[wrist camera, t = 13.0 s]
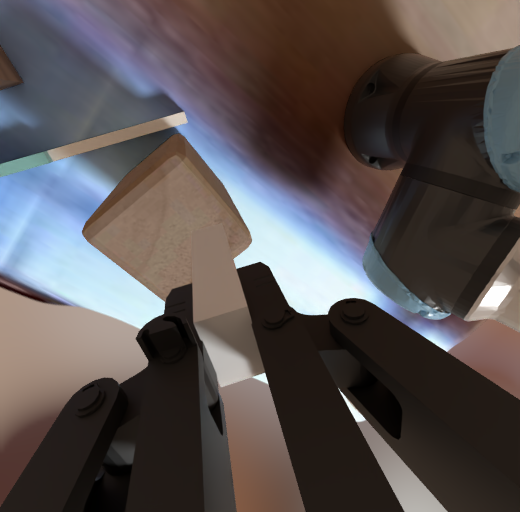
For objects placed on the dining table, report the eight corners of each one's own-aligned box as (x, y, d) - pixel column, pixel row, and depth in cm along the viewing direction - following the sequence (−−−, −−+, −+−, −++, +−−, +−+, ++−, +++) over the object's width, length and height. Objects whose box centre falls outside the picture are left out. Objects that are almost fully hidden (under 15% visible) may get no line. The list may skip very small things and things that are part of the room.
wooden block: (121, 178, 38) (71, 236, 20) (178, 129, 37) (176, 146, 19) (175, 230, 43) (171, 312, 25) (227, 188, 42) (259, 244, 24)
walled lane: (95, -147, 25) (82, -187, 22) (187, 121, 36) (187, 122, 33) (-251, -80, 23) (-329, -114, 19) (-38, 186, 34) (-63, 195, 30)
